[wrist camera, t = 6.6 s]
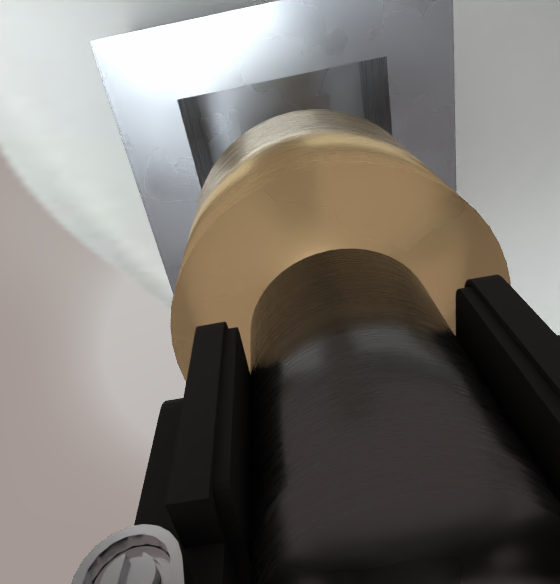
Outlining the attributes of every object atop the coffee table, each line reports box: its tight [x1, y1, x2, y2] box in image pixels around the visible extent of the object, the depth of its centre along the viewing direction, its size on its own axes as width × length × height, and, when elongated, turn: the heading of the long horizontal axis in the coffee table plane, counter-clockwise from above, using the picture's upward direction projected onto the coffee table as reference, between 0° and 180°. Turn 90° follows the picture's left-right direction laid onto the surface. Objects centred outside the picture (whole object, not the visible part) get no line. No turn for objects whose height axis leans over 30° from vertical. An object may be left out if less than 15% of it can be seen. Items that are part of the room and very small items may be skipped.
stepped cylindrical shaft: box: [171, 109, 560, 584], centre depth 11 cm, size 7×7×12 cm
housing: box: [89, 0, 456, 294], centre depth 24 cm, size 13×13×7 cm
